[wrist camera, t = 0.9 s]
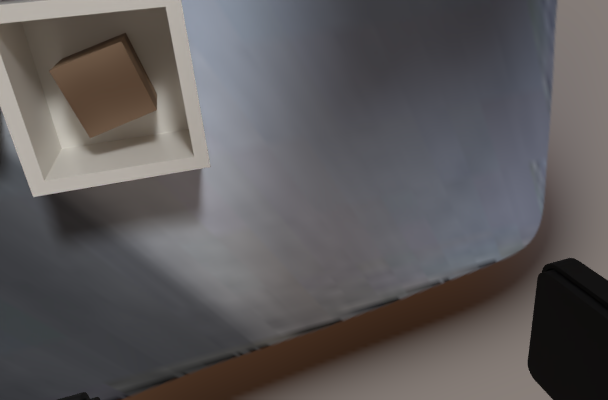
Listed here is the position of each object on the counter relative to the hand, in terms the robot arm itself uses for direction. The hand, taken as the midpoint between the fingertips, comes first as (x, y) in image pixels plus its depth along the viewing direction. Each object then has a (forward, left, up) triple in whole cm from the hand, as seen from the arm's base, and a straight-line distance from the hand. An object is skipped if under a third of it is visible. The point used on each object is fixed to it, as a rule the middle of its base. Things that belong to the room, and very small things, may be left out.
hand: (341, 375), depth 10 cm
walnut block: (-3, -6, -21) cm, 22 cm away
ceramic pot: (-3, -6, -22) cm, 23 cm away
